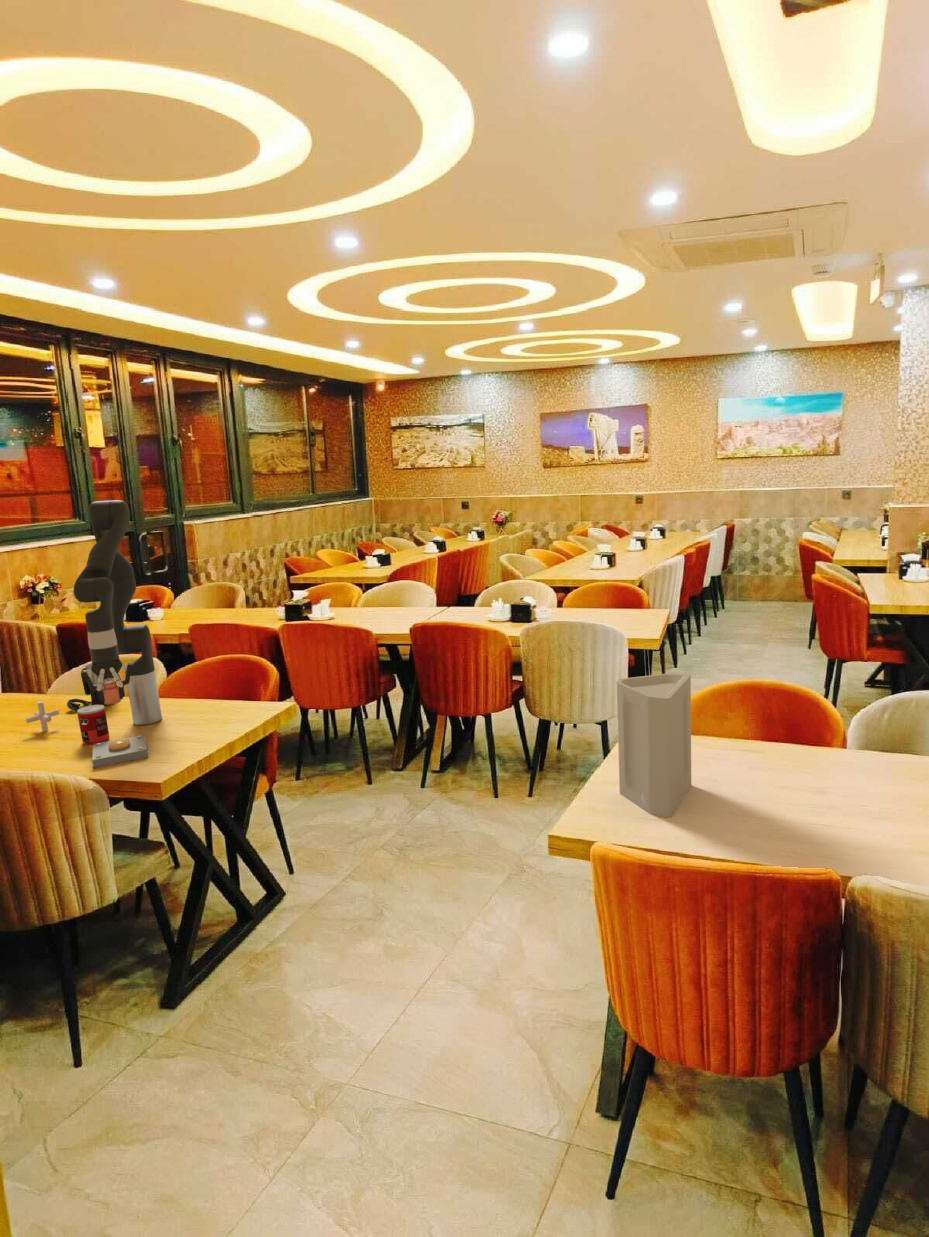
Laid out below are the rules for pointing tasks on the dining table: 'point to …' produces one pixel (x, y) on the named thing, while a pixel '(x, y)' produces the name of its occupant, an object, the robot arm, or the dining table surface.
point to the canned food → (93, 724)
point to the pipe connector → (42, 716)
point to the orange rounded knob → (111, 692)
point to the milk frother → (88, 692)
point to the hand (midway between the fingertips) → (112, 700)
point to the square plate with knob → (119, 751)
